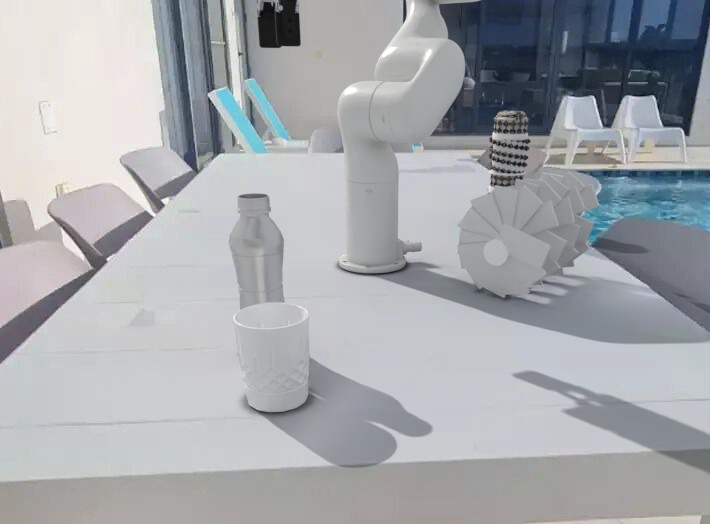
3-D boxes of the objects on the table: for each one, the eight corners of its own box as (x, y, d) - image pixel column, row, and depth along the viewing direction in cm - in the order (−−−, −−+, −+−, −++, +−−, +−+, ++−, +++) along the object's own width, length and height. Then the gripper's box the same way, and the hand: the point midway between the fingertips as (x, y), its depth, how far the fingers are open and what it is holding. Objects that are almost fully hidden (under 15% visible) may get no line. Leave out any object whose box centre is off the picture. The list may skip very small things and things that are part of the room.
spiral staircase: (467, 318, 106) (529, 274, 124) (564, 293, 94) (617, 249, 112) (427, 213, 102) (496, 184, 120) (522, 174, 90) (584, 148, 109)
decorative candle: (513, 229, 146) (523, 113, 136) (477, 224, 151) (484, 111, 140) (528, 222, 153) (539, 111, 143) (493, 217, 158) (501, 109, 147)
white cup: (324, 388, 74) (321, 307, 69) (293, 421, 67) (287, 333, 63) (264, 378, 76) (257, 299, 72) (228, 408, 69) (218, 323, 65)
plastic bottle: (282, 364, 79) (270, 202, 71) (231, 359, 81) (214, 199, 72) (299, 344, 85) (290, 192, 77) (252, 340, 86) (237, 190, 78)
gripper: (318, -113, 77) (324, 46, 84) (281, -85, 91) (288, 48, 98) (256, -120, 74) (268, 45, 81) (228, -90, 88) (239, 48, 95)
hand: (279, 47), depth 90 cm, fingers open, 9 cm apart
